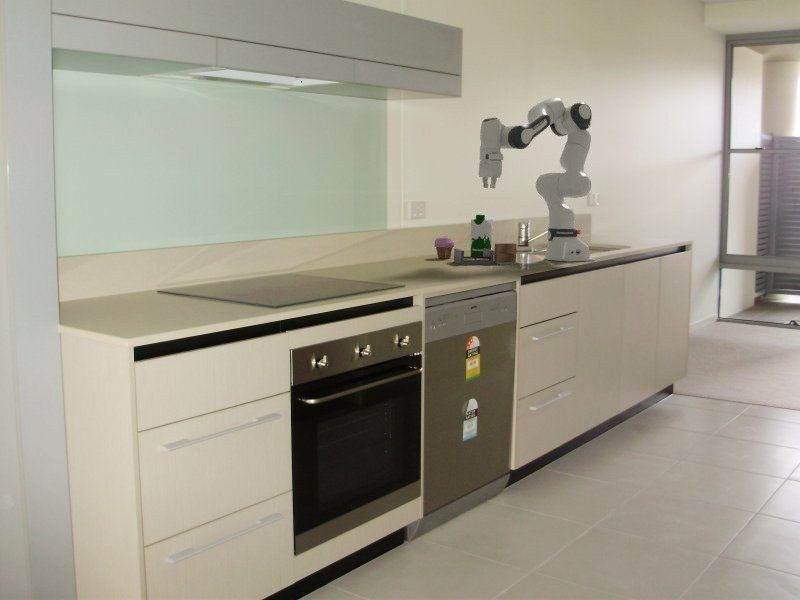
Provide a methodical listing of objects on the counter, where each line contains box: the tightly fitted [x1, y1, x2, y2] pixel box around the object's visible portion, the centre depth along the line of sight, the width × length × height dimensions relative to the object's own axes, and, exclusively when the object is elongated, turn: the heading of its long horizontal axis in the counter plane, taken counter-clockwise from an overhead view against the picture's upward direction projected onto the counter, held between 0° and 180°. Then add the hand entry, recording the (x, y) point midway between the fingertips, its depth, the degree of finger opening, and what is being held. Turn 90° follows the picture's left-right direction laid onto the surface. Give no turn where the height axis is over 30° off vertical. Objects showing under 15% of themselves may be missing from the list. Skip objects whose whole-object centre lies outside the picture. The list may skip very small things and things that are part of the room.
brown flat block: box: [493, 242, 517, 262], centre depth 380 cm, size 9×2×8 cm, turn 102°
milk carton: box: [470, 214, 494, 256], centre depth 395 cm, size 9×9×20 cm
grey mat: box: [494, 261, 520, 265], centre depth 380 cm, size 10×9×1 cm
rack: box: [453, 248, 495, 266], centre depth 377 cm, size 14×11×6 cm
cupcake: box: [434, 236, 455, 260], centre depth 397 cm, size 9×9×10 cm
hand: (489, 188), depth 382 cm, fingers open, 8 cm apart
